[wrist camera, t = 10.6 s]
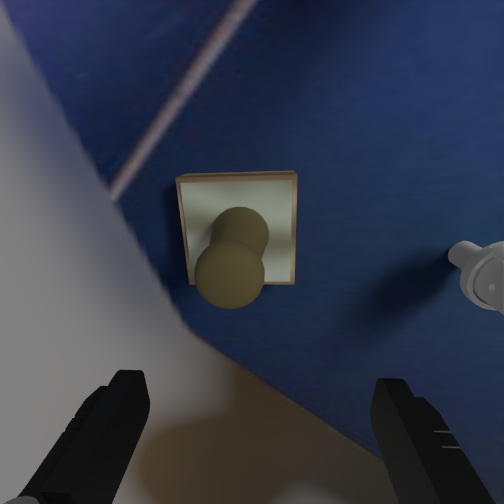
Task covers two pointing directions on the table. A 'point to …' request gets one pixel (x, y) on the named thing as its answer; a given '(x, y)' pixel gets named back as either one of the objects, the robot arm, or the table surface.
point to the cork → (233, 259)
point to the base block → (241, 195)
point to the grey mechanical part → (481, 273)
